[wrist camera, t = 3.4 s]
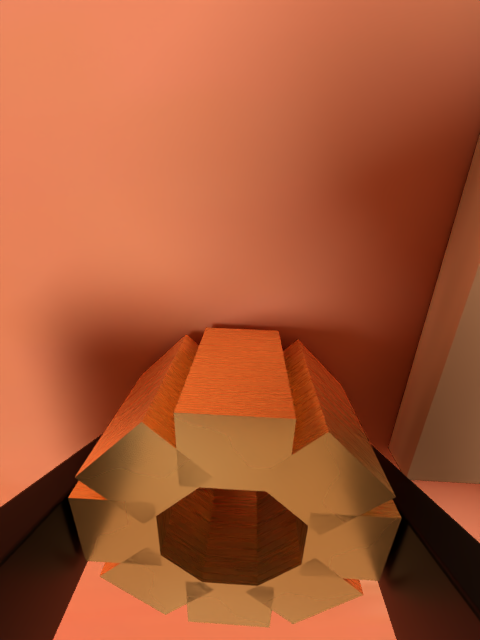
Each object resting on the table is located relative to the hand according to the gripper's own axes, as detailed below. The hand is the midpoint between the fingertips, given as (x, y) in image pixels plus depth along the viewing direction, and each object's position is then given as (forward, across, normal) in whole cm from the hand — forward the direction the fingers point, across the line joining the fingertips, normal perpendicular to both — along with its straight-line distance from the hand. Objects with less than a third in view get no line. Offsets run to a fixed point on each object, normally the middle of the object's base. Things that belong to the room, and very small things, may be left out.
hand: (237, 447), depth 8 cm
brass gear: (+1, 0, 0) cm, 1 cm away
